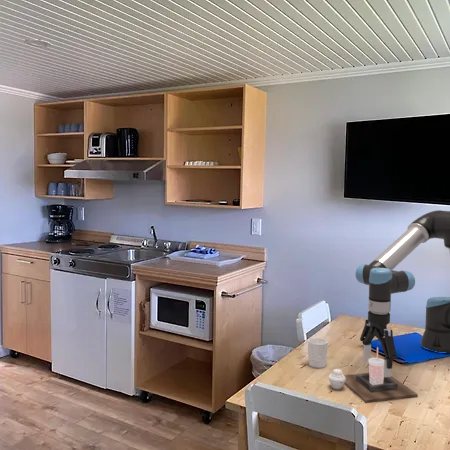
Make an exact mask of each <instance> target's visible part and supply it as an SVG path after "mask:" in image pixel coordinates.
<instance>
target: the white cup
mask: <svg viewBox="0 0 450 450" xmlns="http://www.w3.org/2000/svg"><path fill="white" fill-rule="evenodd" d="M328 343H329V342H328V340H327V339H325V338H322V337H310V338H308V340H307V349H308V350H307V354H308V356H307V357H308V366H310V367H312V368H314V369H315V368H317V369H321V368H324V367H326V365H327V364H326V363H327V357H328Z"/></svg>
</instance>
